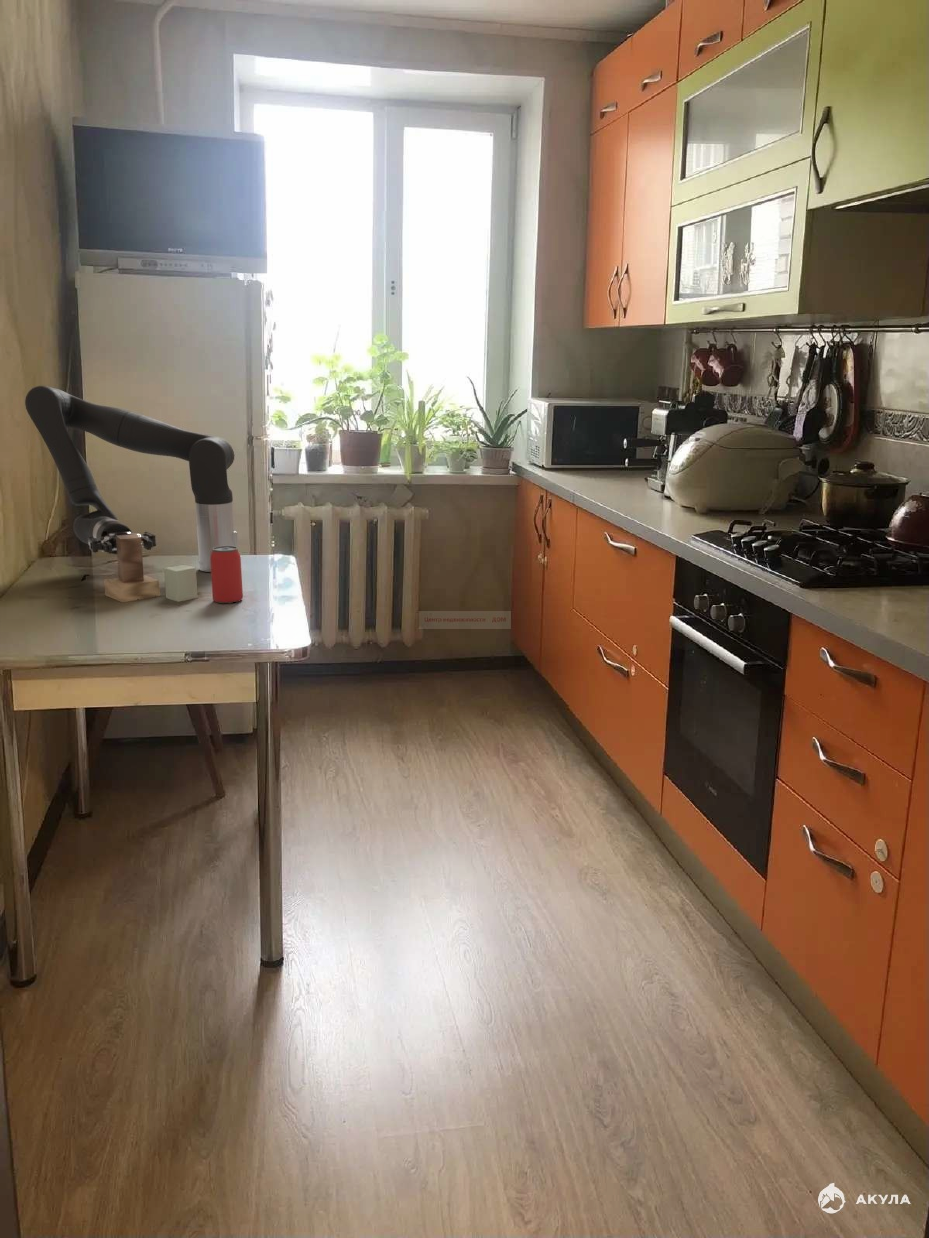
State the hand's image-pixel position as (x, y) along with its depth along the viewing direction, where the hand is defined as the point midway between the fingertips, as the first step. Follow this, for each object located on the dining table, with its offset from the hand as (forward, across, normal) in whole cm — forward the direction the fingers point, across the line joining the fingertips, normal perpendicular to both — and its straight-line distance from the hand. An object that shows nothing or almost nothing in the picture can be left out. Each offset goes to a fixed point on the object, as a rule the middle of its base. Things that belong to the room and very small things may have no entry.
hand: (130, 547), depth 225 cm
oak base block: (-2, 0, +12) cm, 12 cm away
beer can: (+14, +17, +12) cm, 25 cm away
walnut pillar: (-2, 0, +8) cm, 8 cm away
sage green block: (+6, +9, +12) cm, 16 cm away
